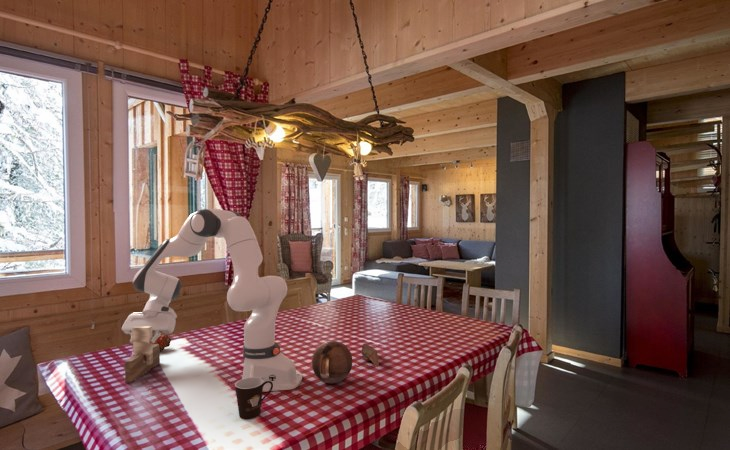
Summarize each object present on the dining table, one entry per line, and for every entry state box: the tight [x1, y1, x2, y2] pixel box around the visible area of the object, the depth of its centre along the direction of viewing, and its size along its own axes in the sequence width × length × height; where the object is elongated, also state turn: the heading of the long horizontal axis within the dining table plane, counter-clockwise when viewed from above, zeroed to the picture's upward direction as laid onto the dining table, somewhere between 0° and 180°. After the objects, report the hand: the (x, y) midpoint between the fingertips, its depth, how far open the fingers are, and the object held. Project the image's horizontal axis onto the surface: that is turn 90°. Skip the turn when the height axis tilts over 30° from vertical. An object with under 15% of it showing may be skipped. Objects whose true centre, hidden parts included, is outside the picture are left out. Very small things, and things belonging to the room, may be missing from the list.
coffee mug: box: [234, 377, 273, 420], centre depth 127 cm, size 12×9×10 cm
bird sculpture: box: [361, 343, 380, 368], centre depth 170 cm, size 7×25×5 cm, turn 15°
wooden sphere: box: [311, 340, 353, 384], centre depth 151 cm, size 15×15×15 cm
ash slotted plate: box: [132, 326, 153, 365], centre depth 162 cm, size 6×2×15 cm, turn 89°
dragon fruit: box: [152, 334, 172, 352], centre depth 188 cm, size 8×8×12 cm
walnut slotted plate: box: [124, 344, 161, 383], centre depth 162 cm, size 2×20×8 cm, turn 179°
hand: (141, 342), depth 162 cm, fingers closed on ash slotted plate, 6 cm apart
